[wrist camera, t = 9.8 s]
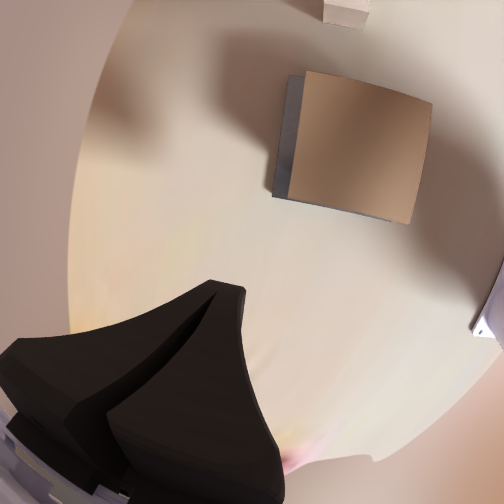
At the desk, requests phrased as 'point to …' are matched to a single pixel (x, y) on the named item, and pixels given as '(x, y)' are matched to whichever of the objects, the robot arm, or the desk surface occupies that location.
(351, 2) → the off-white cube
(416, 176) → the brown rectangular block
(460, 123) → the desk surface
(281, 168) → the post
